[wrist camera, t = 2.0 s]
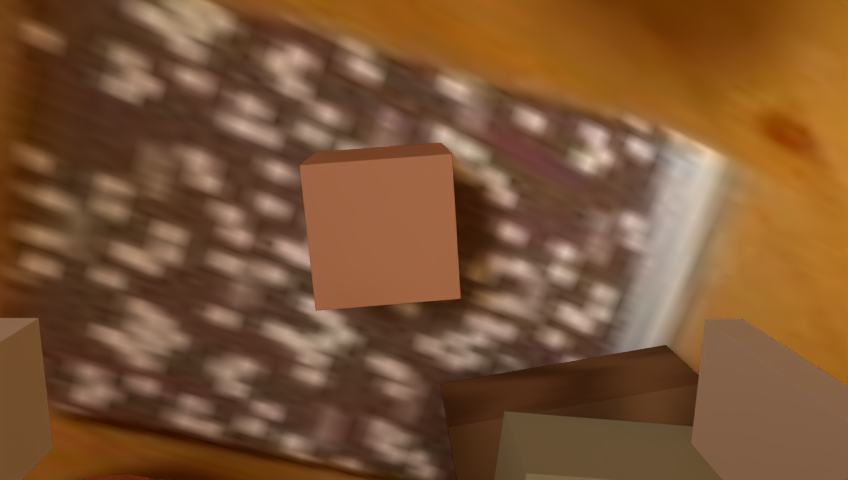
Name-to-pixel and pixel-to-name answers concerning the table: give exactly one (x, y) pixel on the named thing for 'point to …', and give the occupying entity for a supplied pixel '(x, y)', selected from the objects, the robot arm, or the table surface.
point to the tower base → (566, 399)
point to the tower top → (596, 450)
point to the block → (381, 225)
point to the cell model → (121, 477)
